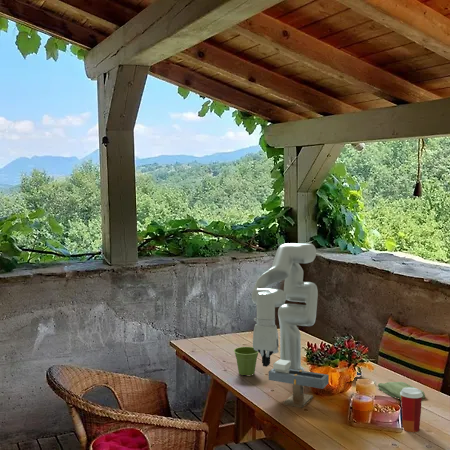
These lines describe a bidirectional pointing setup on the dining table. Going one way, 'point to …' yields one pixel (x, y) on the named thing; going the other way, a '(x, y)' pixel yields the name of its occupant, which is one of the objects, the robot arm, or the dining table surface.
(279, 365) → the rider
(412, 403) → the paper cup
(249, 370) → the plant pot
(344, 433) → the dining table surface
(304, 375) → the balance beam
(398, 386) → the washcloth
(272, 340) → the robot arm
